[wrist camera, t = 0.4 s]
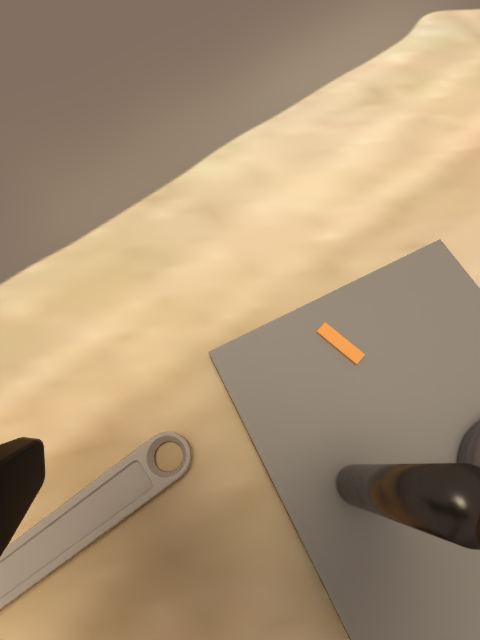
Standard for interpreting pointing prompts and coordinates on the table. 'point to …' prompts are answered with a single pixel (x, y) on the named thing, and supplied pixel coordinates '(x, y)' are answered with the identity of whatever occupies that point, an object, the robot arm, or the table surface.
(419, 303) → the level stand
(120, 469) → the adjustable wrench
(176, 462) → the table surface
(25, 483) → the robot arm
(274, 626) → the table surface
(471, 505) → the crank handle
